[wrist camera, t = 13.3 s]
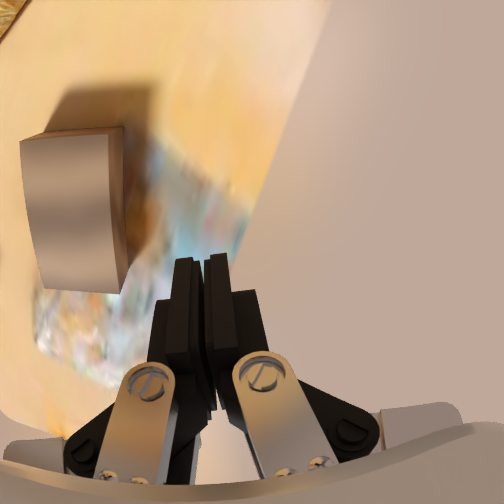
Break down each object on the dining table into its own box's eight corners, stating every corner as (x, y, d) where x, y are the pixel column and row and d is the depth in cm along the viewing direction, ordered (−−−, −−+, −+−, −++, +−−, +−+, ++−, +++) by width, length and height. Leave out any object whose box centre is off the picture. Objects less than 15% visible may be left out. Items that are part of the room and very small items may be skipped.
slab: (129, 266, 25) (119, 294, 22) (60, 262, 24) (44, 288, 21) (124, 126, 20) (108, 134, 16) (45, 131, 18) (19, 141, 15)
